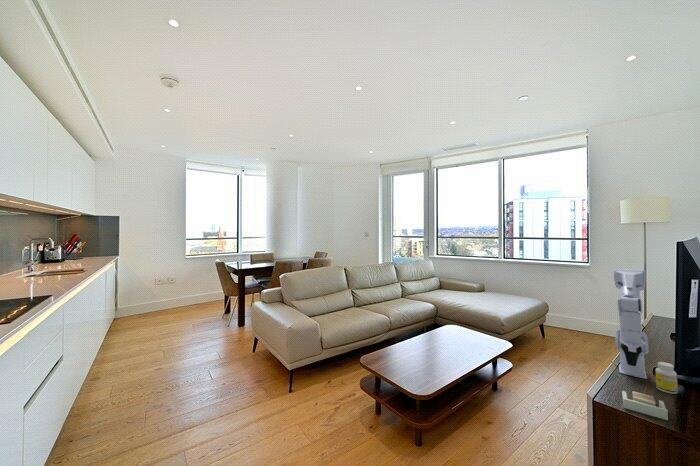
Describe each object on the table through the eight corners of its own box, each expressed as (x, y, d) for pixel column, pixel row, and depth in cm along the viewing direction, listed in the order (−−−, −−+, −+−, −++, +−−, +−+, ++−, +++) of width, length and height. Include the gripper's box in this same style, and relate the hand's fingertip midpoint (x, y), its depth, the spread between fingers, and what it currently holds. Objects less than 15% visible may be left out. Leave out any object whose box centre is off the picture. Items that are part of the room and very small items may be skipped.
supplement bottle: (654, 384, 108) (653, 359, 108) (675, 389, 105) (674, 363, 105) (657, 390, 104) (656, 364, 104) (679, 395, 101) (678, 368, 101)
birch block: (632, 402, 98) (632, 391, 98) (653, 408, 94) (653, 396, 94) (633, 409, 94) (633, 397, 94) (655, 415, 91) (655, 403, 91)
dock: (622, 396, 101) (622, 387, 101) (663, 407, 94) (663, 398, 94) (623, 407, 94) (623, 398, 95) (668, 420, 88) (667, 410, 88)
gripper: (648, 336, 97) (649, 375, 97) (643, 326, 108) (644, 361, 108) (619, 332, 102) (621, 369, 102) (618, 322, 113) (619, 356, 113)
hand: (631, 365), depth 105 cm, fingers closed
